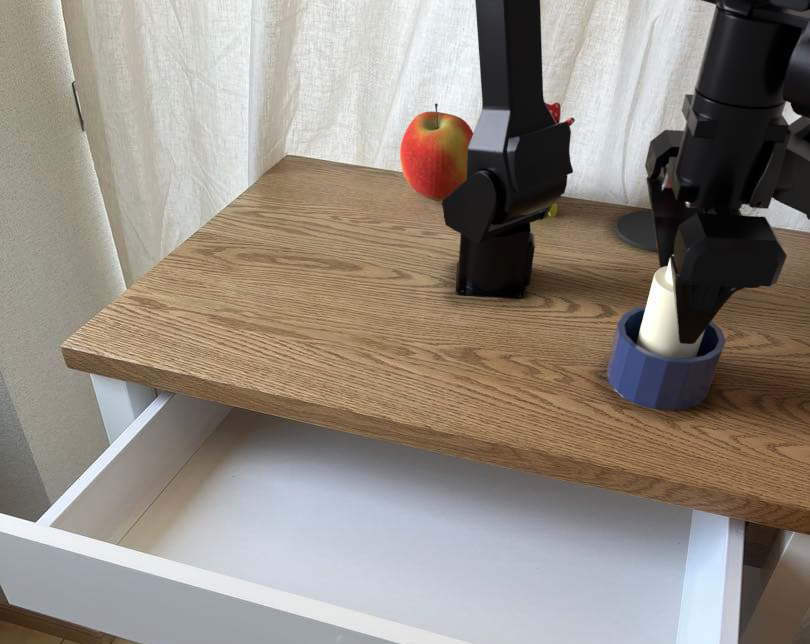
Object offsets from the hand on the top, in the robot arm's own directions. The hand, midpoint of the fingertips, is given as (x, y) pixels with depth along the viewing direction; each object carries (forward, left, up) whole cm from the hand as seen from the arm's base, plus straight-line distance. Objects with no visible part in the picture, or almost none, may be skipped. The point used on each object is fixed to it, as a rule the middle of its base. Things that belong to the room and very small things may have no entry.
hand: (676, 309), depth 64 cm
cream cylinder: (0, 0, -6) cm, 6 cm away
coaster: (+4, +28, -7) cm, 29 cm away
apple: (-20, +34, -7) cm, 40 cm away
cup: (0, 0, -7) cm, 7 cm away
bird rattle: (-9, +33, -7) cm, 35 cm away
